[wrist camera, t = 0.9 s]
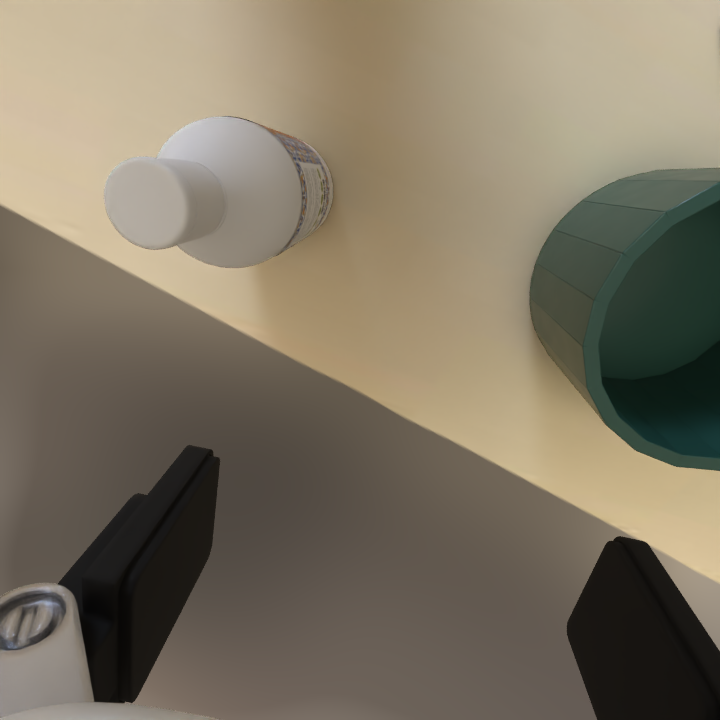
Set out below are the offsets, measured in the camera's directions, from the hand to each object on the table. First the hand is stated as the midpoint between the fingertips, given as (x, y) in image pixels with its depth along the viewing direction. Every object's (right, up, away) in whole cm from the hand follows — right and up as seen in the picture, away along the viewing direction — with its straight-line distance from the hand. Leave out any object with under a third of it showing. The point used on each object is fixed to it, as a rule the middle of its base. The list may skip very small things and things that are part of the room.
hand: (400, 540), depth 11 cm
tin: (+19, +10, +23) cm, 32 cm away
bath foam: (-6, +16, +23) cm, 29 cm away
